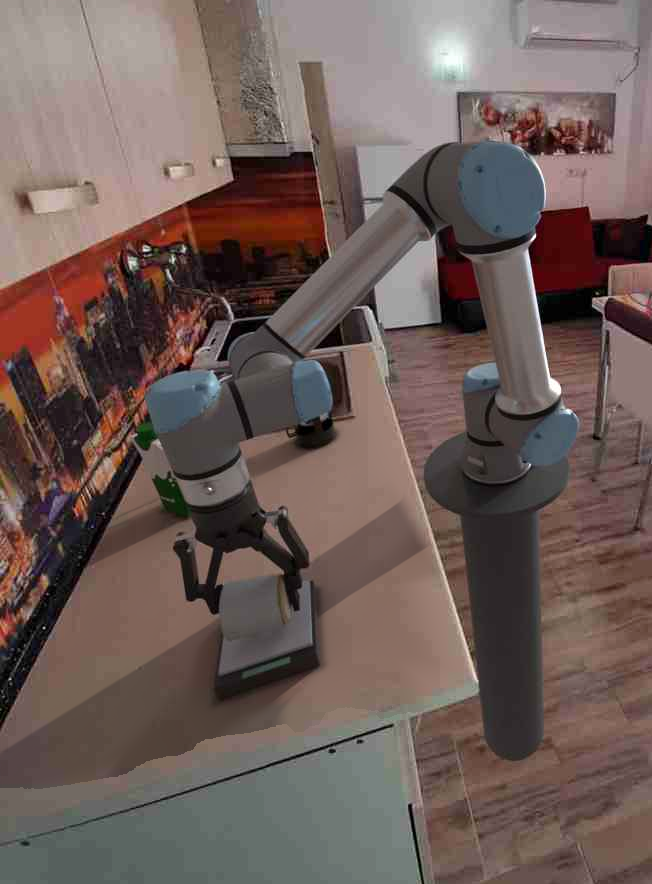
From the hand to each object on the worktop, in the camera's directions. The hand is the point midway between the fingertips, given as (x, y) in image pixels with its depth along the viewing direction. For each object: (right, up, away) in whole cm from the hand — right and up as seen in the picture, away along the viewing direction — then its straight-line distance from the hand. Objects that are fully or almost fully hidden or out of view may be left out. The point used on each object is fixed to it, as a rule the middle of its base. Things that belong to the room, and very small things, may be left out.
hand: (264, 613), depth 74 cm
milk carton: (-30, +8, +32) cm, 44 cm away
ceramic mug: (0, 0, 0) cm, 1 cm away
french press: (-11, +19, +52) cm, 56 cm away
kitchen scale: (0, -5, +2) cm, 5 cm away
